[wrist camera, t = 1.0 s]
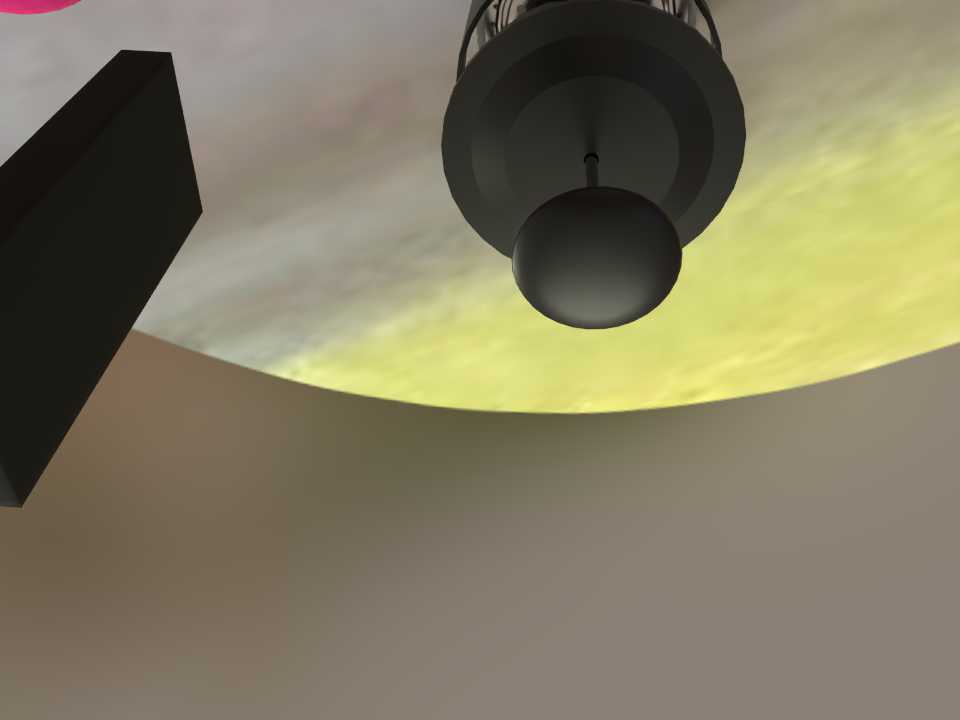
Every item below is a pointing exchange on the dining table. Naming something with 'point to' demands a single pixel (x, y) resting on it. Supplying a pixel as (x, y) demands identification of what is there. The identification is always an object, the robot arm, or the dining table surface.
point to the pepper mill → (33, 6)
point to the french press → (592, 147)
